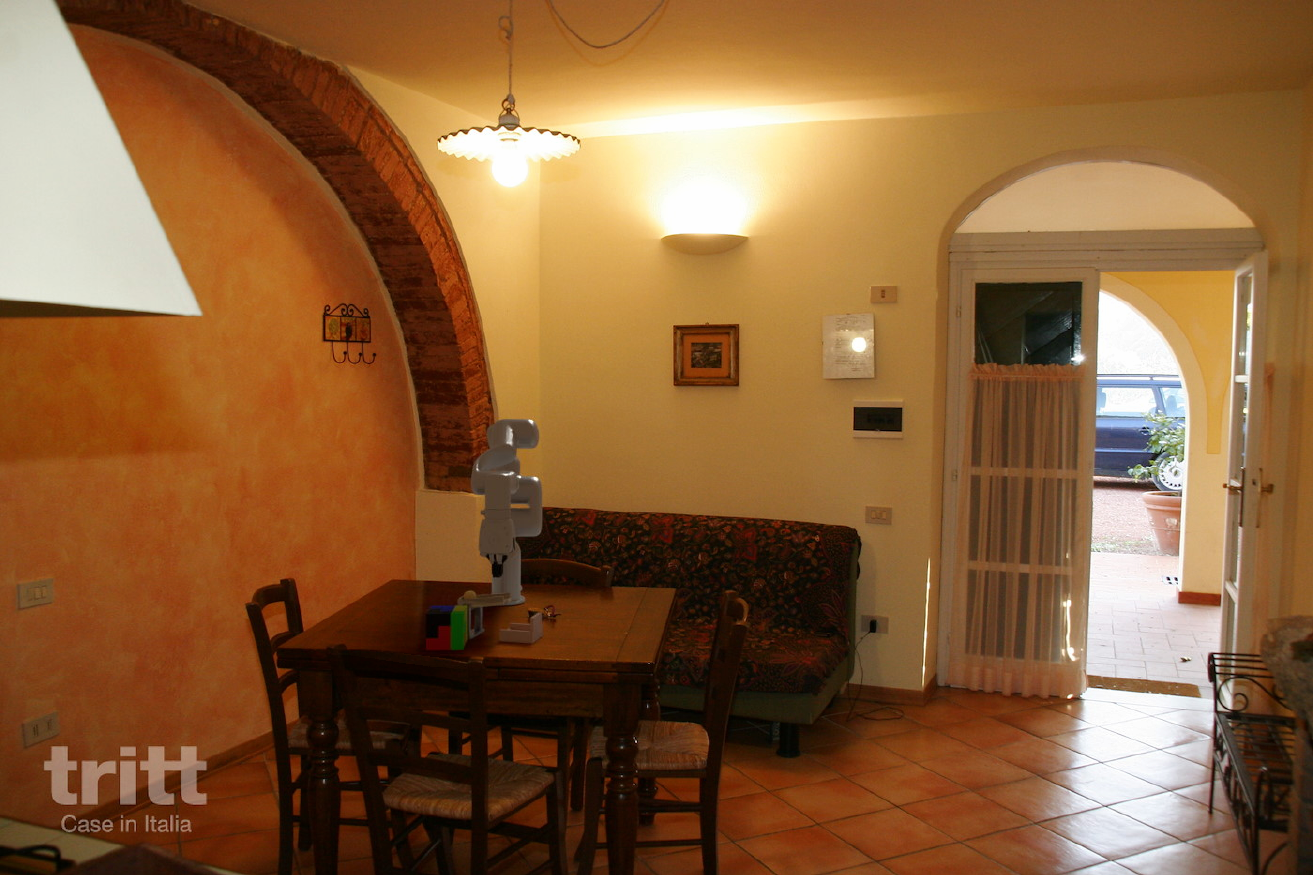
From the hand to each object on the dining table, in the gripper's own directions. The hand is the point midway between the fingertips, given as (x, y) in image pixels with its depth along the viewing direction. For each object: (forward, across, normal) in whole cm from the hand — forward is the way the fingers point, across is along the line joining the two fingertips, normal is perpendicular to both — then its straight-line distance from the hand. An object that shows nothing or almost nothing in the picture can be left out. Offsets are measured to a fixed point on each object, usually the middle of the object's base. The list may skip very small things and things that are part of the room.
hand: (497, 576), depth 277 cm
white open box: (+16, +10, -6) cm, 20 cm away
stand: (+16, -5, -6) cm, 18 cm away
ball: (+5, -6, -6) cm, 10 cm away
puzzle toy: (+17, -8, -18) cm, 25 cm away
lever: (+11, -4, -3) cm, 12 cm away
